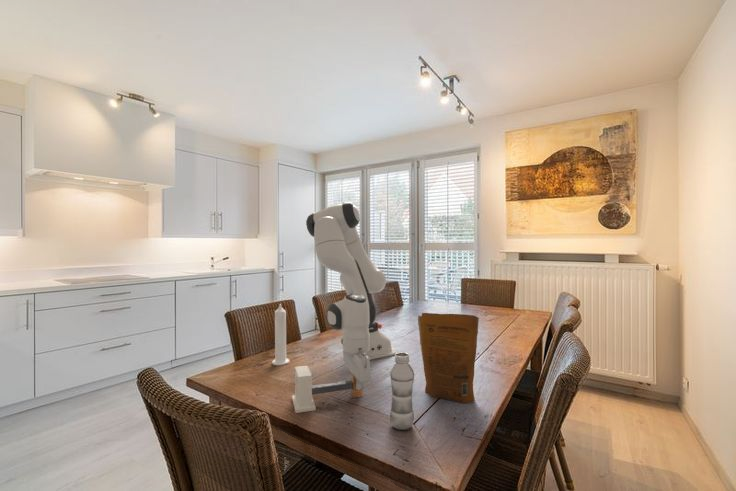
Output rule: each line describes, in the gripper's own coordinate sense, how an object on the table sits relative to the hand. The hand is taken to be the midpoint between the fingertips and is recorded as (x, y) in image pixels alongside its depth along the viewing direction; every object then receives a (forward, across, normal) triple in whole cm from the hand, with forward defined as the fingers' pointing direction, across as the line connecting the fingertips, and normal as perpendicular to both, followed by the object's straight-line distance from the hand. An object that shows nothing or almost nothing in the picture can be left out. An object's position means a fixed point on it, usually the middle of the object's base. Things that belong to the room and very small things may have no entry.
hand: (356, 386), depth 114 cm
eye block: (+3, 0, +18) cm, 18 cm away
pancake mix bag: (+4, -11, -28) cm, 30 cm away
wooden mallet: (+3, 0, +7) cm, 8 cm away
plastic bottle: (+4, -22, -7) cm, 23 cm away
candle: (+3, +40, +22) cm, 45 cm away
